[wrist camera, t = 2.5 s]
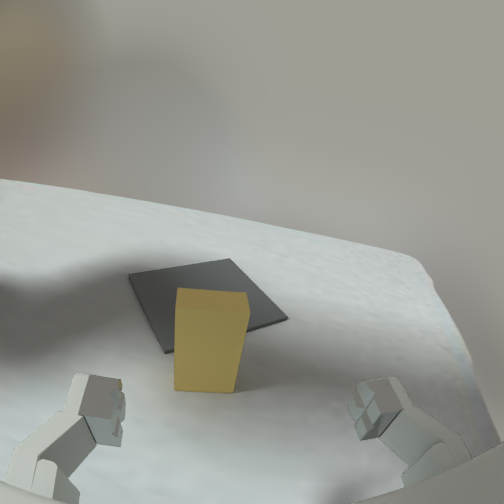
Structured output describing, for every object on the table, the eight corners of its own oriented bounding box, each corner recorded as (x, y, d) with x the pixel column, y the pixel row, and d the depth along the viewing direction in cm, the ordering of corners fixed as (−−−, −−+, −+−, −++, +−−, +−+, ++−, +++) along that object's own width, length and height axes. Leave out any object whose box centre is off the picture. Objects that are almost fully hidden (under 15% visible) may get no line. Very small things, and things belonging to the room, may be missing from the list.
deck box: (233, 392, 27) (250, 312, 22) (174, 390, 26) (175, 307, 21) (230, 373, 29) (246, 292, 24) (175, 370, 28) (177, 287, 23)
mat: (164, 353, 29) (164, 350, 29) (128, 276, 39) (128, 274, 39) (286, 319, 37) (287, 316, 37) (229, 260, 47) (229, 258, 47)
